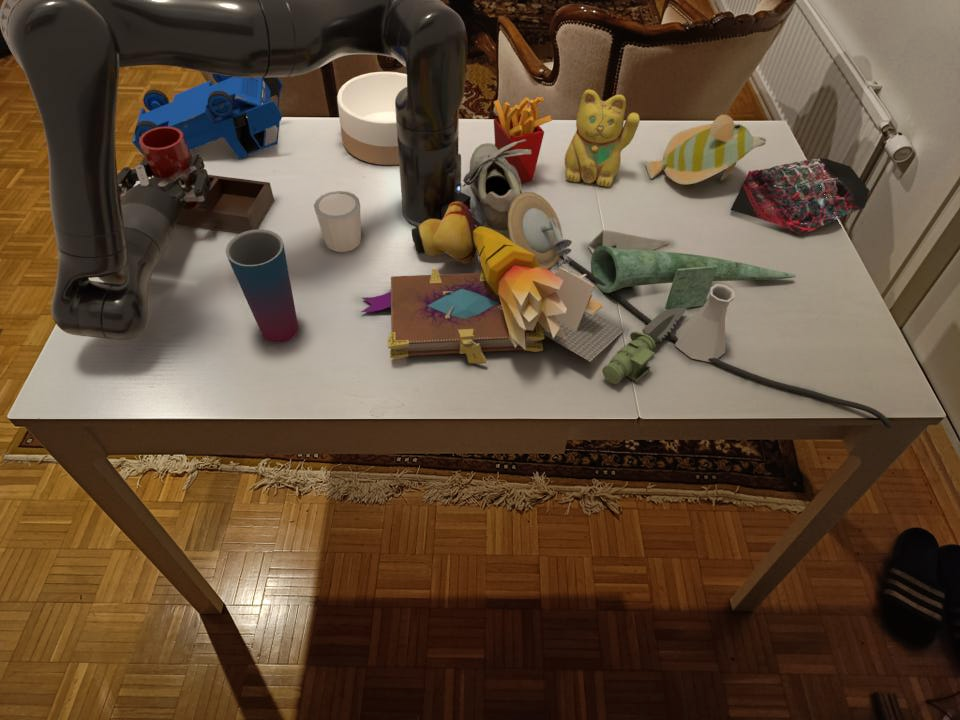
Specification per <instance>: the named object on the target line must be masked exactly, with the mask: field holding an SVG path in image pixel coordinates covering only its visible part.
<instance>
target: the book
mask: <svg viewBox="0 0 960 720" xmlns="http://www.w3.org/2000/svg"><path fill="white" fill-rule="evenodd" d="M361 299H362V300H364V301H365V302H367V303H368V304H371V305H369V306H368V307H366V308H364V309H363V310H361V311H360V313H373V312H379V311H382V310H385V309H388V308H390V332H389V335H388V338H387V349H390V350H389V359H393V360H394V359H395V360H399V359H403V358H408V357H409V356H427V355H428V356H430V355H449V354H460V355H464V354H465V355H466V358H467V362H468V364H487V363H488V359H487V358H486V356H485V354H484V352H504V351H522V350H523V351H527V352H534V353H537V352H542V351H543V350H544V346H543V342H542V340H545V335H544V332H543V330H542V328H541V326H540V324H539V325H538V321H537V323H536V325H535V327H534V329H533V330H525V349H523V348H522V347H521V346H520V345H519V344H517V346H516V348H515V347H514V345H513V344H512V342H511V340H510V339H509V330H508V327H507V323H506V319H505V316H504V312H503V310H501V309H499V308H498V306H500V305H501V301H500V297H499V296H498V295H496V293H495V292H494V291H493V290H492V288H491V287H490V286H489V284H488V283H487V280H486V277H485V274H484V271H483V268H482V266H481V269H480V272H469V273H468V272H467V273H445V274H441V273H439V270H438V268H432V269H431V274H420V275H419V274H417V275H397V276H394V275H393V276H392V275H391V276H390V292H389V291H388V292H387V293H384V294H381V295H380V294H379V295H375V296H373V297H372V296H369V297H361Z"/></svg>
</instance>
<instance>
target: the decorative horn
mask: <svg viewBox="0 0 960 720" xmlns="http://www.w3.org/2000/svg"><path fill="white" fill-rule="evenodd" d="M590 270H591V271H590V272H591V273H592V274H593V275H594V276H595V277H596V278H598V279H599V280H601V281H602V282H603V283H604V284H605V285H606V286H602V285H600V284H597V283H595V282H594V285H595V286H596V287H597V288H598V290H599V291H601V292H602V293H605V294H609V293H610V292H613V291H614V292H617V291H618V290H621V289H625V288H629V287H630V288H631V287H637V286H649V285H659V284H660V285H661V284H671V287H670V289H669V292H668V295H667V296H668V297H667V300H666V302H665V306H664V309H665V311H666V310H669V309H673V308H687V309H688V308H696V307H703V306H704V304H705V303H706V301H707V300H708V297H709V296H708V295H709V294H710V288H711V287H712V286H713V282H738V281H767V280H769V281H770V280H785V279H793V278H796V277H797V275H796V274H795V273H792V272H791V273H790V272H784V271H781V270H780V271H779V270H775V269H770V268H765V267H761V266H757V265H753V264H749V263H743V262H738V261H734V260H729V259H723V258H718V257H713V256H712V257H711V256H707V255H701V254H700V255H699V254H691V253H683V252H674V251H661V250H635V249H619V248H614V247H608V246H599V247H597V248H596V249H595V251H594V252H593V254H591V258H590Z"/></svg>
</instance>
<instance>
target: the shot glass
mask: <svg viewBox="0 0 960 720" xmlns="http://www.w3.org/2000/svg"><path fill="white" fill-rule="evenodd" d="M313 208H314V212H315V215H316V218H317V222H318V224H319V228H320V231H321V234H322V237H323V240H324V243H325V247H327V249H329V250H331V251H334V252H339V253H344V252H350V251H352V250H354V249H356V248H358V246H359V245H360V244H361V242H362V225H361V224H362V222H361V219H362V218H361V202H360V198H358V196H357V195H356V194H354V193H352V192H349V191H344V190H336V191H335V190H333V191H329V192H326V193H324V194H321V195H320V196H319V197H318V198H317V199H315V202H314V204H313Z"/></svg>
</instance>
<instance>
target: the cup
mask: <svg viewBox="0 0 960 720" xmlns="http://www.w3.org/2000/svg"><path fill="white" fill-rule="evenodd" d="M225 255H226V257H227V260H228V262H229V265H230V266H231V269H232V271H233V273H234V276H235V278H236V280H237V282H238V284H239V287H240V289H241V291H242V293H243V296H244V299H245V300H246V302H247V304H248V307H249V309H250V311H251V314H252V315H253V318H254V321H255V322H256V325H257V327H258V329H259V331H260V333H261V336H262V338H263V339H264V340H266V341H267V342H269V343H274V344H280V343H281V344H282V343H286V342H288V341H290V340H292V339H293V338H294V337H295V336H296V335H297V333H298V331H299V322H298V317H297V316H298V315H297V312H296V305H295V300H294V295H293V294H294V293H293V289H292V284H291V283H292V282H291V278H290V273H289V267H288V261H287V256H286V250H285V244H284V241H283V238H282V237H281V235H279V234H278V233H276V232H275V231H272V230H269V229H264V228H263V229H260V228H257V229H256V230H249V231H246V232H243V233H238V234H237V235H236V236H234V237H233V238H231V239H230V241H228V243H227V245H226V248H225Z"/></svg>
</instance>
